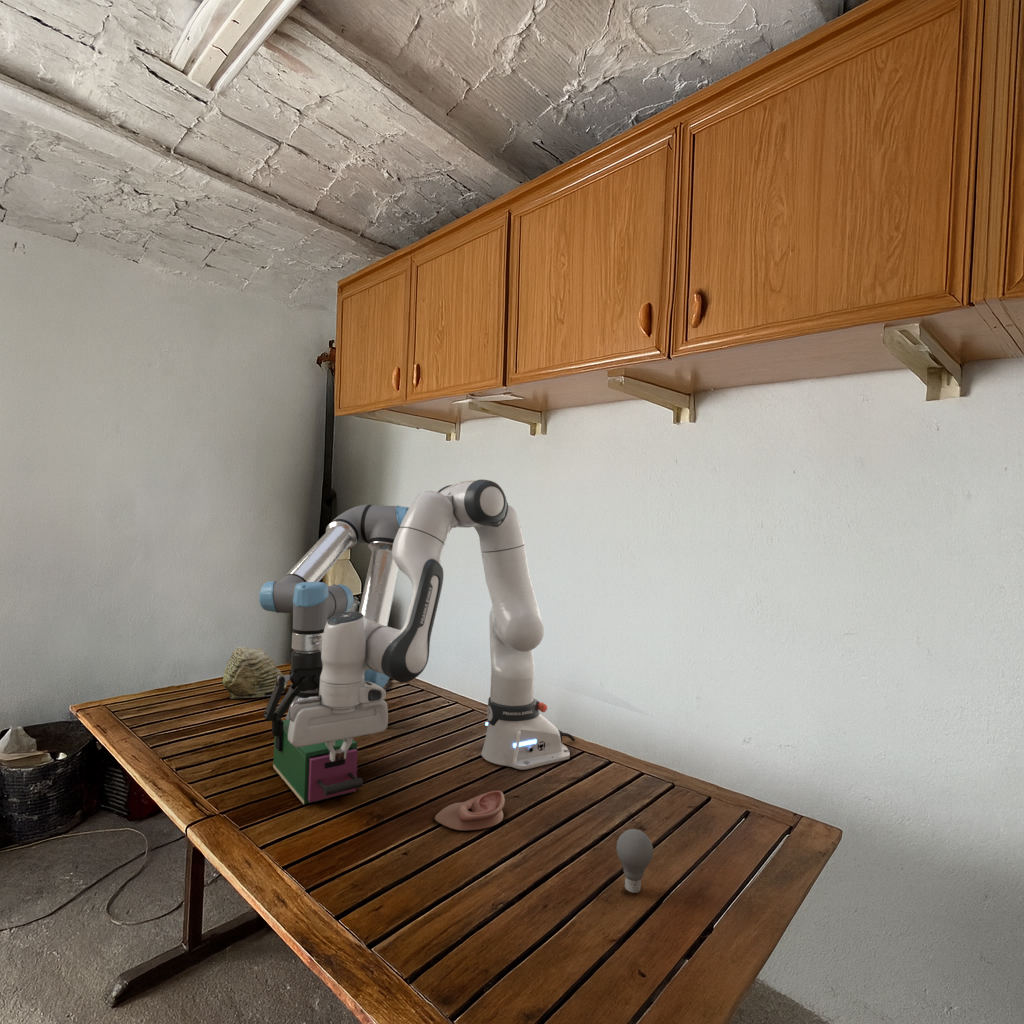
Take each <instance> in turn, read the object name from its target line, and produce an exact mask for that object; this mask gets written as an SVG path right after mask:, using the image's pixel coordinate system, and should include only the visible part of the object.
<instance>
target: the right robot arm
mask: <svg viewBox="0 0 1024 1024" xmlns="http://www.w3.org/2000/svg"><path fill="white" fill-rule="evenodd" d="M408 507H409V509H408V511H407V513H406V515H405V516H404V519H403V521H402V523H401V525H400V527H399V530H398V532H397V534H396V537H395V539H394V543H393V548H392V556H393V559H394V561H395V563H396V565H397V566H398V568H399V571H401V573H403V574H404V575H405V576H406V577H407V578H408V579H409V580H410V582H411V584H412V594H411V598H410V602H409V605H408V609H407V614H406V617H405V621H404V625H403V627H402V628H401V629H399V628H394V627H391V626H388V625H387V626H385V625H381V624H378V623H375V622H373V621H371V620H369V619H367V618H366V617H364V615H363V614H362V613H359V611H347V612H342V613H338V614H335V615H333V616H332V617H330V618H329V619H327V623H326V625H325V629H324V633H323V639H322V650H321V660H322V664H323V668H322V672H321V675H320V687H319V696H312V697H308V698H299V699H298V700H297V701H295V702H294V703H293V704H292V705H291V706H289V707H290V712H289V717H290V724H289V730H288V740H289V742H290V743H291V744H292V745H293V746H294V747H303V746H308V745H314V744H319V743H324V742H325V744H326V746H327V748H328V749H329V751H330V760H331V761H332V762H334V761H338V760H343V759H346V754H347V751H348V749H349V747H350V746H351V744H352V741H353V740H354V738H357V737H362V736H368V735H374V734H378V733H383V732H385V731H386V730H387V728H388V725H389V707H388V703H387V702H386V700H385V699H386V696H387V690H386V691H385V690H384V689H385V688H384V687H383V688H382V687H380V686H379V685H377V684H375V683H372V682H368V681H364V673H365V671H366V670H373V671H376V672H378V673H381V674H384V675H386V676H388V677H390V679H392V680H394V681H396V682H398V683H402V684H403V683H404V684H405V683H409V682H412V681H413V680H414V679H416V678H418V677H419V676H420V675H421V674H422V673H423V672H424V670H425V669H426V667H427V665H428V663H429V658H430V647H431V636H432V633H433V628H434V625H435V619H436V615H437V611H438V607H439V603H440V598H441V595H442V594H441V593H442V588H443V583H444V568H443V566H442V555H443V551H444V549H445V545H446V542H447V540H448V537H449V534H450V532H451V531H452V529H454V528H465V529H466V528H474V529H475V531H476V533H477V535H478V538H479V546H480V547H479V548H480V553H481V560H482V566H483V572H484V578H485V583H486V586H487V589H488V593H489V598H490V600H491V608H490V611H489V649H490V650H489V651H490V653H489V654H490V663H491V664H490V689H489V691H490V693H489V697H488V700H487V701H488V702H487V710H486V717H487V721H486V722H485V726H487V727H486V733H485V738H484V742H483V746H482V749H481V752H480V755H481V757H482V758H483V759H484V760H485V761H487V762H489V763H492V764H495V765H499V766H503V767H511V768H514V769H517V770H520V771H525V770H526V771H527V770H529V769H534V768H538V767H542V766H546V765H550V764H551V765H552V764H555V763H558V762H563V761H568V760H569V759H570V758H571V753H570V750H569V749H568V747H567V746H566V745H565V744H563V737H567V738H569V739H570V740H571V741H572V742H575V741H576V738H575V737H574V736H573V735H572V734H570V733H568V732H563V731H562V730H560V729H558V727H556V726H555V724H553V723H552V722H551V721H549V720H548V719H547V718H546V717H545V716H544V715H543V714H541V713H546V712H547V710H548V706H547V704H545V703H544V702H541V701H539V700H538V699H536V698H535V681H536V680H535V678H536V667H535V662H534V654H533V650H534V649H536V648H537V647H538V646H539V645H540V644H541V642H542V641H543V639H544V634H545V629H544V624H543V619H542V615H541V612H540V607H539V603H538V600H537V596H536V593H535V589H534V585H533V582H532V579H531V575H530V569H529V562H528V558H527V551H526V545H525V539H524V534H523V530H522V526H521V524H520V520H519V517H518V515H517V512H516V510H515V509H514V507H512V506H511V505H509V502H508V500H507V496H506V494H505V492H504V490H503V488H502V487H501V486H500V485H499V484H498V483H497V482H495V481H492V480H489V479H475V480H464V481H460V482H458V483H454V484H449V485H446V486H444V487H442V488H440V489H439V490H438V491H434V490H425V491H422V492H420V493H418V495H416V496H415V498H414V500H413V501H412V503H411V504H410V506H408ZM296 703H298V704H296ZM341 739H342V740H344V742H343V744H342V746H341V748H340V749H337V750H334V748H333V746H334V745H335V740H341ZM332 745H333V746H332Z"/></svg>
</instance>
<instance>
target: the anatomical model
mask: <svg viewBox="0 0 1024 1024" xmlns="http://www.w3.org/2000/svg"><path fill="white" fill-rule="evenodd" d="M505 803H506V800H505V795H504V792H502V791H501V790H492V791H488V792H485V793H481V794H479V795H477V796H474V797H472V798H470V799H468V800H465V801H461V802H455V803H452V804H448V805H446V807H443V808H442V809H441V810H439V811H438V813H436V815H435V816H434V820H435V821H436V822H437V823H439V824H440V825H442V826H445V827H446V828H449V829H452V830H455V831H476V830H483V829H487V828H491V827H494V826H497V825H498V824H500V823H501V822H502V821H503V819H504V811H503V809H504V806H505Z"/></svg>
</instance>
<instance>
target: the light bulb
mask: <svg viewBox="0 0 1024 1024" xmlns="http://www.w3.org/2000/svg"><path fill="white" fill-rule="evenodd" d="M615 849H616V854H617V857H618V859H619V861H620V863H621V865H622V867H623V873H624V874H623V875H624V876H625V878H624V888H625V890H627V891H628V892H630V893H634V894H635V893H639V892H640V891H641V889H642V887H641V886H642V879H643V877H644V875H645V871H646V868H647V867H648V866H649V864H650V863H651V861H652V859H653V855H654V847H653V843H652V841H651V838H649V836H648V835H647V834H646V833H645V832H643V831H642V830H641V829H636V828H629V829H627V830H625V831H623V832H622V833H621V834H620V835H619V837H618V839H617V841H616V847H615Z"/></svg>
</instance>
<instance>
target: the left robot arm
mask: <svg viewBox="0 0 1024 1024" xmlns="http://www.w3.org/2000/svg"><path fill="white" fill-rule="evenodd" d="M409 507H410V506H401V505H381V504H380V505H379V504H361V505H357V506H354V507H351V508H349V509H347V510H345V511H343V512H342V513H340V514H338V516H336V517H335V518H334V519H333V520H332V521H330V522H329V524H327V526H326V527H325V533H324V534H323V535H322V536H321V537H320V538H319V539H318V540H317V541H316V543H315V544H314V545H312V547H311V548H310V549H309V550H308V551H307V552H306V553H305V554H304V555H302V557H301V558H300V560H299V561H298V562H297V563H296V564H295V565H294V566H292V568H290V570H289V571H288V572H287V573H286V574H285V575H284V577H282V578H281V579H280V581H277V580H273V581H267V582H265V583H264V584H263V585H262V586H261V588H260V590H259V593H258V601H259V605H260V607H261V608H262V610H264V611H267V612H271V613H277V614H291V615H292V631H291V632H292V633H291V650H292V651H291V654H290V655H291V658H290V671H289V674H282V675H280V674H278V675H277V676H276V685H275V688H274V690H273V693H272V695H271V696H270V698H269V699H268V702H267V705H266V707H265V711H264V712H263V716H262V717H263V718H264V719H265V720H266V721H268V722H271V734H272V736H273V737H274V736H276V744H275V748H276V749H277V750H278V751H282V749H283V724H284V722H283V721H282V720H283V719H282V718H283V717H284V715H285V714H286V715H285V720H288V719H290V717H289V712H290V706H291V705H292V704H293V703H294V702H295V701H297V700H298V699H299V698H308V697H312V696H319V687H320V675H321V672H322V668H323V664H322V660H321V650H322V639H323V633H324V629H325V625H326V623H327V621H328V619H329V618H330V617H332V616H333V615H335V614H338V613H342V612H349V611H350V610H351V608H352V607H353V604H354V600H355V599H354V598H355V597H354V594H353V592H352V590H351V588H349V587H348V586H347V585H345V584H334V583H333V584H332V585H328V584H327V583H326V582H323V581H321V580H322V579H323V577H325V575H326V574H327V573H328V572H329V571H330V569H331V568H332V567H333V566H334V565H335V563H337V561H338V560H339V559H340V558H341V557H342V556H343V554H344V553H345V552H346V551H348V550H352V548H354V547H355V546H356V545H357V544H368V545H367V547H368V548H369V550H370V551H371V556H370V559H369V560H370V561H369V564H368V569H367V573H366V578H365V581H364V582H365V583H364V587H363V592H362V596H361V599H360V605H359V608H358V609H359V610H358V612H359V613H362V614H363V615H364V617H366V618H367V619H369V620H371V621H373V622H375V623H378V624H381V625H385V626H388V625H389V621H390V620H389V619H390V615H391V610H392V606H393V601H394V596H395V590H396V587H397V586H396V585H397V582H398V576H399V571H400V569H399V568H398V566H397V565H396V563H395V561H394V559H393V556H392V548H393V543H394V539H395V537H396V534H397V532H398V530H399V527H400V525H401V523H402V521H403V519H404V516H405V515H406V513H407V511H408V509H409ZM289 681H290V682H291V684H290V686H289V687H288V691H287V692H286V693H285V695H284V696H283V698H282V700H281V697H282V694H283V693H284V692H283V690H284V685H287V684H288V682H289ZM364 681H368V682H372V683H375V684H377V685H379V686H380V687H382V688H383V689H384V690H385V691H386V692H387V691H388V689H389V687H390V684H391V678H390V677H388V676H386V675H384V674H381V673H378V672H376V671H373V670H366V671H365V673H364ZM385 686H386V687H385ZM384 687H385V688H384ZM282 692H283V693H282ZM280 700H281V701H280ZM296 704H298V703H296ZM286 712H287V713H286Z"/></svg>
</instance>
